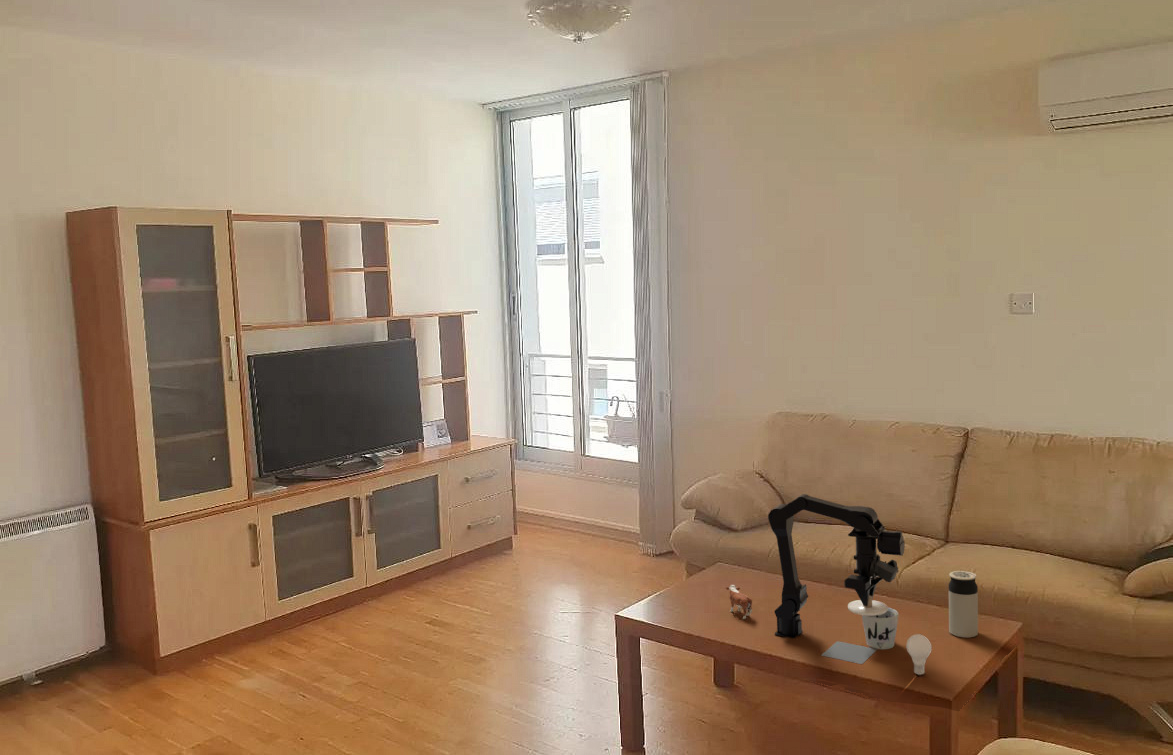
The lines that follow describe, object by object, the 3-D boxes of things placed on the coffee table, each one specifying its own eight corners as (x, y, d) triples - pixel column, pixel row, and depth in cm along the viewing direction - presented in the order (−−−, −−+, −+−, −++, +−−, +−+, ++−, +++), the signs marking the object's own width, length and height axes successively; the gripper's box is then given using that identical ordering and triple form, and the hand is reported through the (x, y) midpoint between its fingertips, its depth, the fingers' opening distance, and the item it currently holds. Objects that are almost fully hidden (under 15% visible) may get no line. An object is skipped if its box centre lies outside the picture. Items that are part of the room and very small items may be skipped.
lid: (842, 611, 265) (841, 598, 265) (856, 600, 274) (856, 587, 274) (879, 618, 259) (879, 605, 258) (893, 606, 267) (893, 593, 267)
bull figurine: (735, 606, 306) (735, 582, 305) (755, 619, 293) (754, 594, 292) (723, 608, 304) (723, 584, 304) (743, 621, 292) (742, 596, 291)
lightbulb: (906, 678, 245) (905, 638, 244) (907, 668, 251) (906, 629, 250) (931, 680, 243) (931, 640, 242) (931, 671, 249) (931, 631, 248)
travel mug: (954, 638, 270) (954, 579, 268) (945, 628, 278) (944, 570, 276) (982, 637, 269) (981, 578, 268) (971, 627, 277) (971, 569, 276)
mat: (821, 656, 262) (821, 655, 262) (837, 642, 271) (837, 641, 271) (862, 665, 255) (862, 664, 255) (877, 650, 264) (877, 649, 264)
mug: (862, 651, 264) (861, 617, 263) (860, 631, 279) (859, 599, 278) (900, 653, 262) (900, 619, 261) (896, 633, 276) (896, 601, 275)
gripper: (881, 564, 252) (882, 619, 254) (905, 547, 267) (906, 599, 268) (843, 558, 259) (844, 612, 261) (868, 542, 274) (869, 593, 275)
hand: (867, 604), depth 266 cm, fingers closed on lid, 3 cm apart
